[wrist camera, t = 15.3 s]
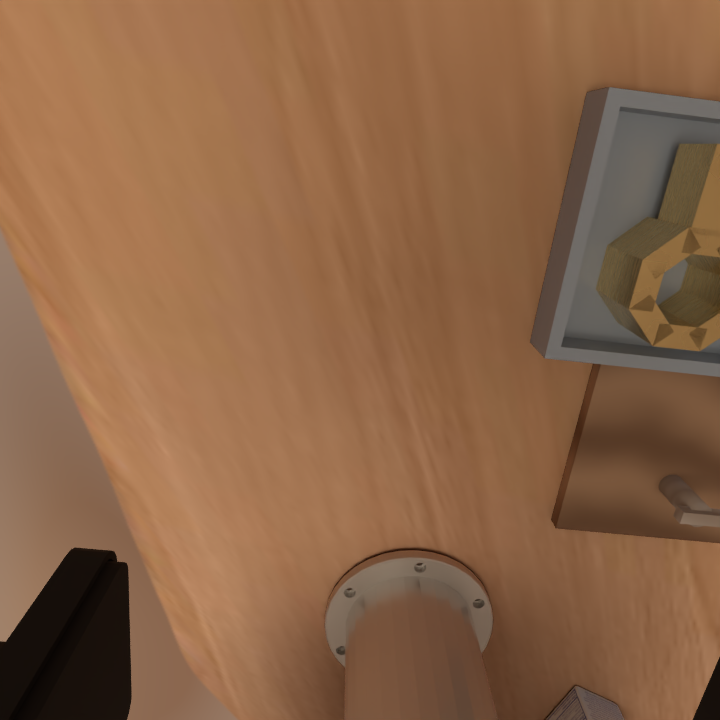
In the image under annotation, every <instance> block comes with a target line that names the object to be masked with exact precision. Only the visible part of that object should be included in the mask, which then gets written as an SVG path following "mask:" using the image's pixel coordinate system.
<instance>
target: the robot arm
mask: <svg viewBox="0 0 720 720" xmlns="http://www.w3.org/2000/svg"><path fill="white" fill-rule="evenodd" d="M492 627H493V614H492V607H491V604H490V601H489V597H488V594H487V592H486V590H485V588H484V587H483V585H482V583H481V582H480V580H479V579H478V578H477V577H476V576H475V575H474V573H473V572H471V571H470V570H469V569H468V568H466V567H465V566H464V565H462V564H461V563H459V562H457V561H455V560H453V559H451V558H449V557H447V556H443V555H440V554H437V553H433V552H427V551H419V550H405V551H395V552H390V553H385V554H382V555H379V556H376V557H373V558H371V559H368V560H366V561H364V562H363V563H361V564H359V565H357V566H356V567H354V568H353V569H352V570H351V571H349V572H348V573H347V574H346V575H345V576H343V578H342V579H341V580H340V581H339V583H338V584H337V585H336V586H335V588H334V590H333V592H332V593H331V595H330V597H329V600H328V604H327V608H326V613H325V632H326V639H327V642H328V644H329V647H330V650H331V651H332V653H333V654H334V656H335V657H336V659H337V660H338V661H339V662H340V663H341V664H342V665H343V666H344V667H345V717H344V720H498V717H497V713H496V709H495V705H494V701H493V698H492V694H491V690H490V686H489V682H488V678H487V674H486V670H485V666H484V662H483V658H482V653H483V651H484V650H485V648H486V646H487V645H488V642H489V639H490V637H491V634H492ZM130 704H131V658H130V620H129V581H128V566H127V563H125V562H117V558H116V554H115V552H114V551H108V550H96V549H85V548H84V549H83V548H73V549H71V550H70V551H69V553H68V554H67V555H66V556H65V558H64V559H63V561H62V562H61V564H60V565H59V567H58V568H57V569H56V571H55V572H54V574H53V575H52V576H51V578H50V579H49V581H48V582H47V584H46V585H45V586H44V588H43V589H42V591H41V592H40V594H39V595H38V597H37V598H36V599H35V601H34V602H33V604H32V605H31V607H30V608H29V609H28V611H27V612H26V614H25V615H24V617H23V618H22V620H21V621H20V622H19V624H18V625H17V627H16V628H15V630H14V631H13V632H12V634H11V635H10V637H9V638H8V640H7V641H6V642H0V720H127V717H128V714H129V709H130ZM693 720H720V657H719V660H718V662H717V664H716V667H715V669H714V671H713V674H712V676H711V678H710V681H709V683H708V685H707V688H706V690H705V692H704V695H703V697H702V699H701V702H700V704H699V706H698V709H697V711H696V713H695V716H694V718H693Z"/></svg>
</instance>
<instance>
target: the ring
mask: <svg viewBox="0 0 720 720" xmlns="http://www.w3.org/2000/svg"><path fill="white" fill-rule="evenodd" d="M683 259H685V260H686V262H687V264H688V266H687V269H686V272H685V276H684V279H683V282H682V285H681V288H680V290H679V291H678V292H677V293H675V294H674V295H672V296H671V297H669V298H668V299H666V300H665V301H663V302H662V303H660V304H659V305H657V304H656V298H657V295H658V292H659V288H660V285H661V282H662V278H663V275H664V273H665V272H666V271H667V270H669V269H670V268H672V267H673V266H675V265H676V264H678V263H679V262H681V261H682V260H683ZM596 291H597V292H598V294H599V295H600V297H601V298H602V300H603V301H604V303H605V304H606V306H607V307H608V309H609V310H610V312H611V313H612V315H613V316H614V318H615V319H616V321H617V323H619V324H620V325H622V326H623V327H625V328H626V329H628V330H629V331H631V332H632V333H634V334H635V335H637V336H638V337H640V338H641V339H643V340H644V341H646V342H647V343H649V344H650V345H652V346H656V347H665V348H674V349H683V350H692V351H701V350H703V349H704V348H706V347H707V346H709V345H710V344H712V343H713V342H715V341H716V340H718V339H719V338H720V144H679V147H678V150H677V154H676V157H675V161H674V164H673V168H672V171H671V175H670V178H669V182H668V185H667V189H666V192H665V195H664V199H663V202H662V206H661V209H660V213H659V216H658V218H653V217H646V218H645V219H643V220H642V221H641V222H639V223H638V224H636V225H635V226H634V227H632V228H631V229H629V230H628V231H627V232H625V233H624V234H622V235H621V236H620V237H618V238H617V239H615V240H614V241H613V242H611V243H610V244H608V245H607V248H606V252H605V256H604V259H603V263H602V267H601V271H600V275H599V278H598V282H597V286H596Z"/></svg>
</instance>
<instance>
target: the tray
mask: <svg viewBox="0 0 720 720" xmlns="http://www.w3.org/2000/svg"><path fill="white" fill-rule="evenodd" d="M679 144H720V102H719V101H711V100H704V99H696V98H688V97H681V96H673V95H665V94H658V93H650V92H643V91H635V90H627V89H620V88H612V87H608V88H603V89H599V90H594V91H590V92H587V94H586V98H585V103H584V107H583V112H582V116H581V120H580V125H579V129H578V133H577V138H576V142H575V147H574V151H573V155H572V160H571V164H570V169H569V173H568V177H567V182H566V186H565V191H564V195H563V199H562V204H561V208H560V213H559V217H558V221H557V226H556V230H555V235H554V239H553V243H552V248H551V252H550V257H549V261H548V265H547V270H546V274H545V279H544V283H543V287H542V292H541V296H540V301H539V305H538V309H537V314H536V318H535V323H534V327H533V331H532V336H531V340H530V343H531V344H532V345H533V346H534V347H535V348H536V349H537V350H538V351H539V353H540V354H541V355H542V356H543V357H544V358H546V359H556V360H565V361H575V362H584V363H594V364H603V365H613V366H622V367H631V368H641V369H650V370H660V371H669V372H679V373H688V374H697V375H707V376H716V377H720V338H719V339H718V340H716V341H715V342H713V343H712V344H710V345H709V346H707V347H706V348H704V349H703V350H701V351H692V350H683V349H674V348H665V347H656V346H652V345H650V344H649V343H647V342H646V341H644V340H643V339H641V338H640V337H638V336H637V335H635V334H634V333H632V332H631V331H629V330H628V329H626V328H625V327H623V326H622V325H620V324H619V323H617V321H616V319H615V318H614V316H613V315H612V313H611V312H610V310H609V309H608V307H607V306H606V304H605V303H604V301H603V300H602V298H601V297H600V295H599V294H598V292H597V291H596V286H597V282H598V278H599V275H600V271H601V267H602V263H603V259H604V256H605V252H606V248H607V245H608V244H610V243H611V242H613V241H614V240H615V239H617V238H618V237H620V236H621V235H622V234H624V233H625V232H627V231H628V230H629V229H631V228H632V227H634V226H635V225H636V224H638V223H639V222H641V221H642V220H643V219H645V218H646V217H653V218H658V216H659V213H660V209H661V206H662V202H663V199H664V195H665V192H666V189H667V185H668V182H669V178H670V175H671V171H672V168H673V164H674V161H675V157H676V154H677V150H678V147H679ZM687 266H688V264H687V262H686V260H685V259H683V260H682V261H681V262H679V263H678V264H676V265H675V266H673V267H672V268H670V269H669V270H667V271H666V272H665V273H664V275H663V278H662V282H661V285H660V288H659V292H658V295H657V298H656V304H657V305H659V304H660V303H662V302H663V301H665V300H666V299H668V298H669V297H671V296H672V295H674V294H675V293H677V292H678V291H679V290H680V288H681V285H682V282H683V279H684V276H685V272H686V269H687Z"/></svg>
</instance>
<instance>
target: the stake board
mask: <svg viewBox="0 0 720 720" xmlns="http://www.w3.org/2000/svg"><path fill="white" fill-rule="evenodd" d="M551 520H552V522H553V524H554V526H555V528H558V529H569V530H580V531H591V532H602V533H613V534H624V535H635V536H646V537H657V538H668V539H679V540H690V541H701V542H712V543H720V377H716V376H707V375H697V374H688V373H679V372H669V371H660V370H650V369H641V368H631V367H622V366H613V365H603V364H594V363H593V367H592V371H591V375H590V378H589V382H588V386H587V389H586V393H585V397H584V400H583V404H582V408H581V412H580V415H579V419H578V423H577V426H576V430H575V434H574V437H573V441H572V445H571V449H570V452H569V456H568V460H567V463H566V467H565V471H564V474H563V478H562V482H561V486H560V489H559V493H558V497H557V500H556V504H555V508H554V511H553V515H552V519H551Z"/></svg>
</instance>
